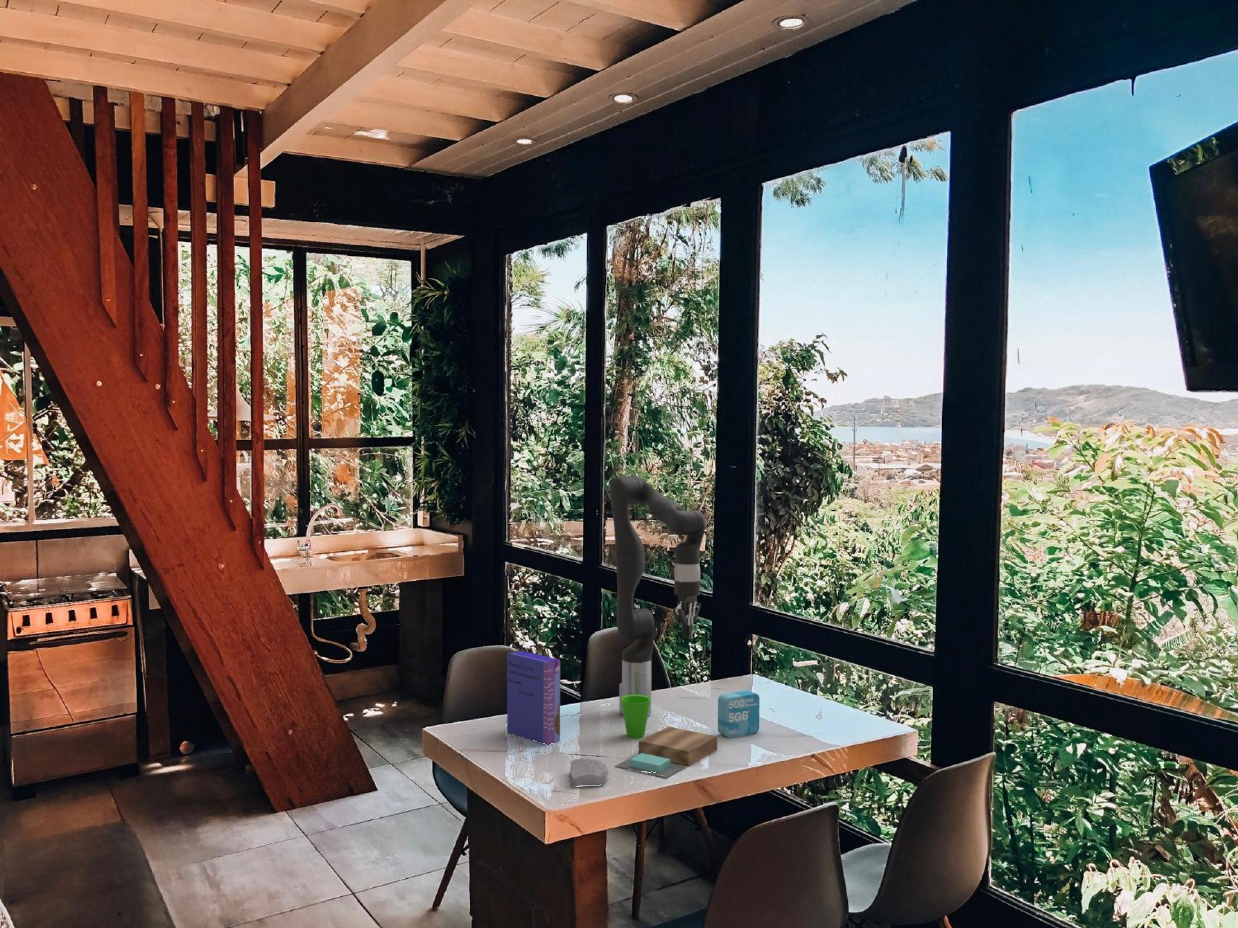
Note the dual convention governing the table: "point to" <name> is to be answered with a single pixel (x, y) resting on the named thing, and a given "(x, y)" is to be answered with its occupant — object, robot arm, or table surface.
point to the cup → (635, 714)
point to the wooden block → (678, 745)
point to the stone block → (588, 772)
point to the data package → (738, 714)
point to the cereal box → (533, 696)
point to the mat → (665, 773)
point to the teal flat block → (650, 763)
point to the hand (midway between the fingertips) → (687, 637)
